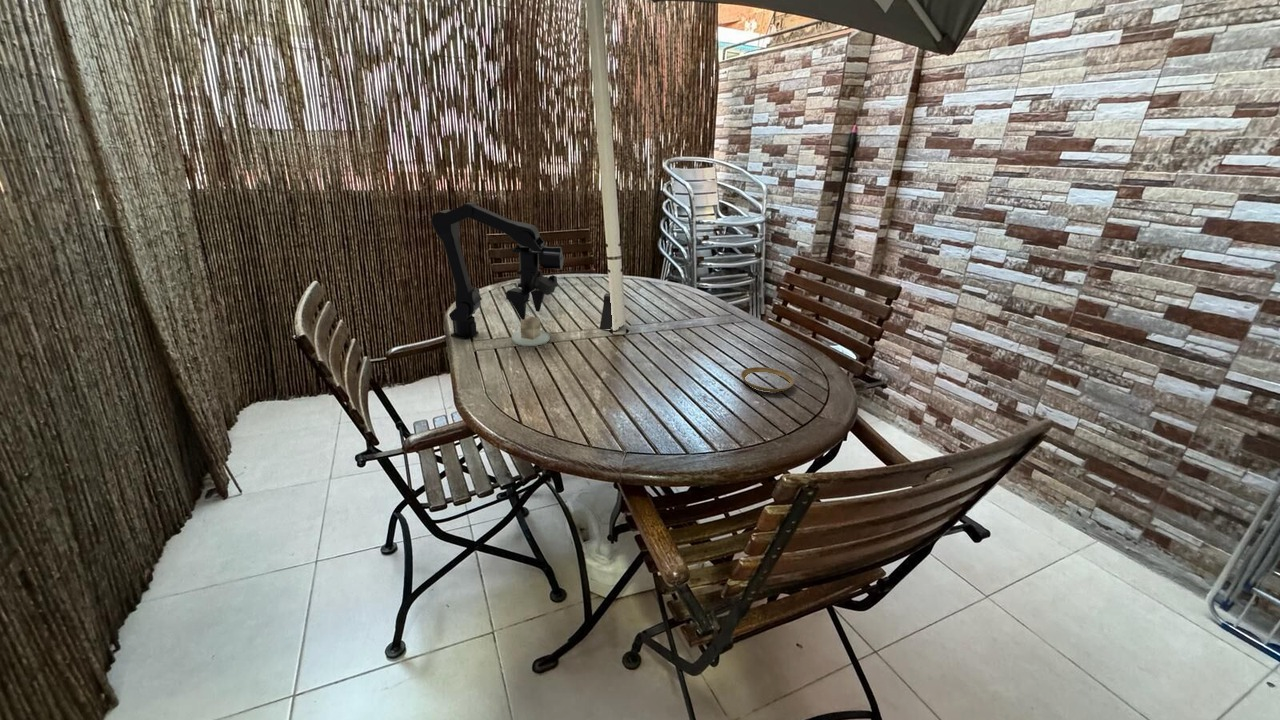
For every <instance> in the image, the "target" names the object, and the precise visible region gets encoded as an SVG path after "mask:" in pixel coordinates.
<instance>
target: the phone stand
mask: <svg viewBox="0 0 1280 720" xmlns="http://www.w3.org/2000/svg"><path fill="white" fill-rule="evenodd" d="M610 294H611V293H604V295H603V306H602V310H601V311H602V312H601V318H600V325H599V330H600V329H611V327H612V315H611V303H610Z"/></svg>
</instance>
